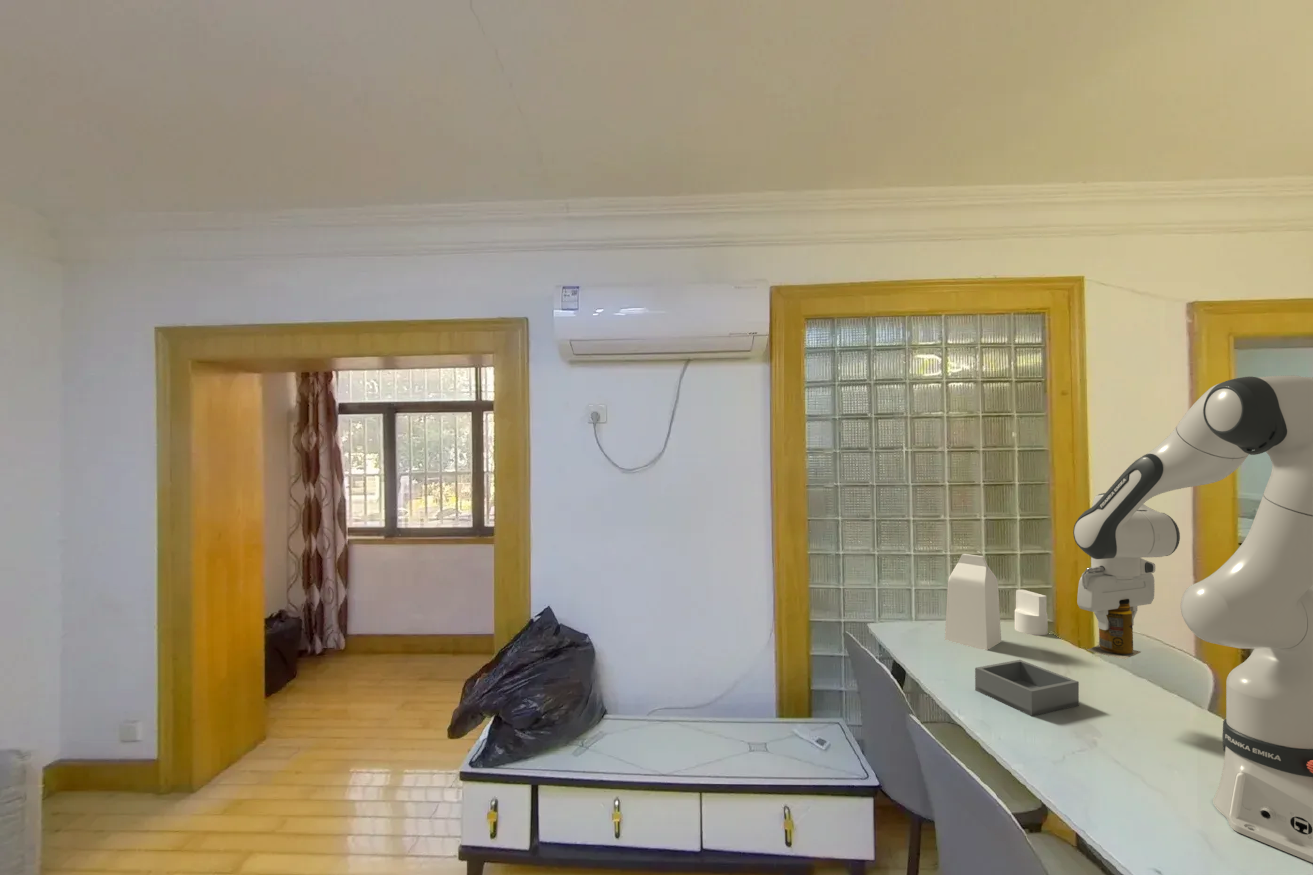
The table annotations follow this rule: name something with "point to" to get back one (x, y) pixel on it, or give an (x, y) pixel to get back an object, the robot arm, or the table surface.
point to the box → (1027, 687)
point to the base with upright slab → (1031, 613)
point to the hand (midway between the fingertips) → (1116, 627)
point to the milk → (973, 604)
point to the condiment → (1117, 633)
